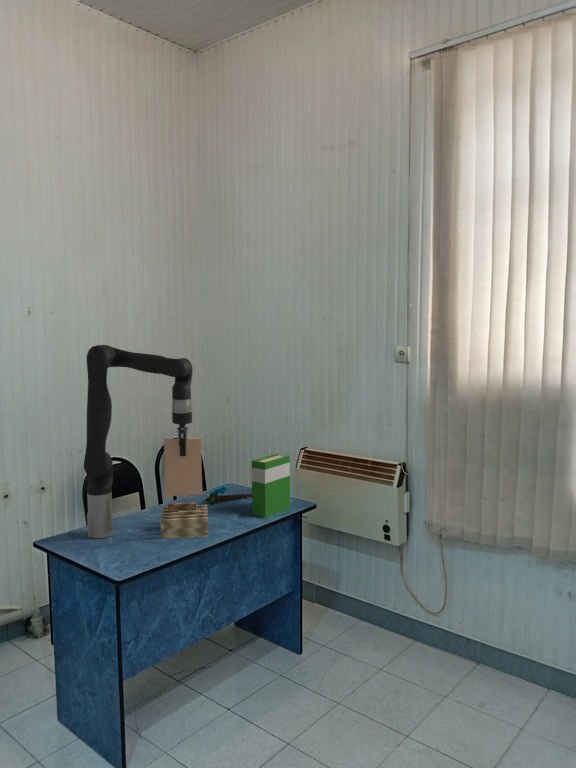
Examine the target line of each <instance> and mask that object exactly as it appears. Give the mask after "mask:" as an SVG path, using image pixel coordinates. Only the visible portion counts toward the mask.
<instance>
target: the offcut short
mask: <svg viewBox="0 0 576 768" xmlns="http://www.w3.org/2000/svg"><path fill="white" fill-rule="evenodd" d="M197 514H201V510H188V511H178V515H197Z"/></svg>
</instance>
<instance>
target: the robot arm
mask: <svg viewBox="0 0 576 768" xmlns="http://www.w3.org/2000/svg"><path fill="white" fill-rule="evenodd" d="M86 367H87V368H86V371H87V400H86V445H85V454H84V460H83V469H84V470H83V471H84V472H85V474H86V475H87V476H88V477H89V479H88V483H87V487H86V495H87V496H86V498H87V514H86V520H87V521H86V522H87V523H86V524H87V538H90V539H104V538H109V537H111V536H113V534H114V522H113V519H114V517H113V496H112V495H113V493H112V491H113V490H112V486H113V483H114V480H113V479H114V477H113V474H114V470H113V467H114V465H113V459H112V457H111V455H110V453H108V452H107V451H106V446H107V445H106V444H107V438H108V434H109V430H110V427H111V423H112V412H113V411H112V409H113V408H112V407H113V405H112V404H113V403H112V397H111V395H110V391H109V388H108V382H107V381H108V380H107V379H108V377H107V376H108V369H110V368H128V369H133V370H136V371H140V372H143V373H150V374H157V375H163V376H167V377H172V378H174V383H173V385H172V388H171V389H172V390H171V394H172V401H171V420H172V424H175V425H178V427H177V428H176V432H177V439H178V440H179V446H180V456H186V440H187V438H188V430H189V429H188V427H187V426H186V425H189V424H191V423H192V422H193V404H192V391H191V386H192V382H193V381H192V379H193V364H192V362H191V361H190V359H188V358H186V357H181V358H171V357H166V356H163V355H159V354H152V353H151V354H150V353H142V352H132V351H127V350H123V349H119V348H117V347H114V346H111V345H107V344H97V345H92V347H90V348H89V350H88V351H87V352H86ZM181 442H184V443H181Z"/></svg>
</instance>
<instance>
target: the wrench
mask: <svg viewBox="0 0 576 768" xmlns="http://www.w3.org/2000/svg"><path fill="white" fill-rule="evenodd" d="M209 494H210V496H209V498H208V497H207V498H205V499H204V502H208V503H209V504H210V505H211V506H214V505H213V504H215V505H216V504H218V503H221V502H222V501H223V502H227V501H228V502H229V501H236V500H235V499H237V500H242V499H241V498H245V499H248V498H247V497H252V493H243V494H242V493H239V494H221V496H218V495H215V494H211V493H209ZM213 497H215V499H214V500H213V501H214V502H212V498H213ZM223 502H222V503H223Z"/></svg>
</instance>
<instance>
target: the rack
mask: <svg viewBox="0 0 576 768" xmlns="http://www.w3.org/2000/svg"><path fill="white" fill-rule="evenodd" d="M196 510H201V514H197V515H178V512H172V513H168V506H162V510H161V516H160V521H159V522H160V539H161V540H163V539H178V538H179V539H180V538H199V537H203V538H204V537H209V516H208V515H209V514H208V513H209V512H208V504H196Z"/></svg>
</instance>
